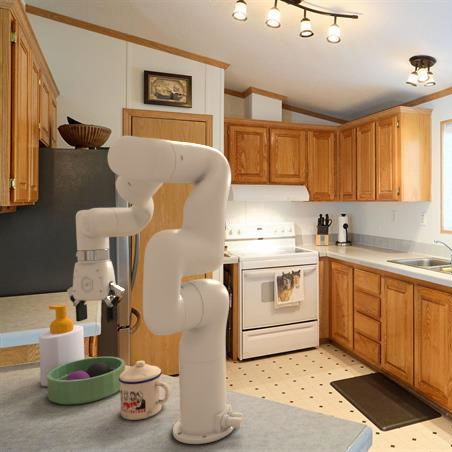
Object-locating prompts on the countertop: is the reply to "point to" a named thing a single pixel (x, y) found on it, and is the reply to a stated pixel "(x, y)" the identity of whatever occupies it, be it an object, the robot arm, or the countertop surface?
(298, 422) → the countertop surface
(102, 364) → the charcoal ball
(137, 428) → the countertop surface
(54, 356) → the soap bottle
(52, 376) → the green bowl
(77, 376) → the purple ball
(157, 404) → the teacup with lid
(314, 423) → the countertop surface
